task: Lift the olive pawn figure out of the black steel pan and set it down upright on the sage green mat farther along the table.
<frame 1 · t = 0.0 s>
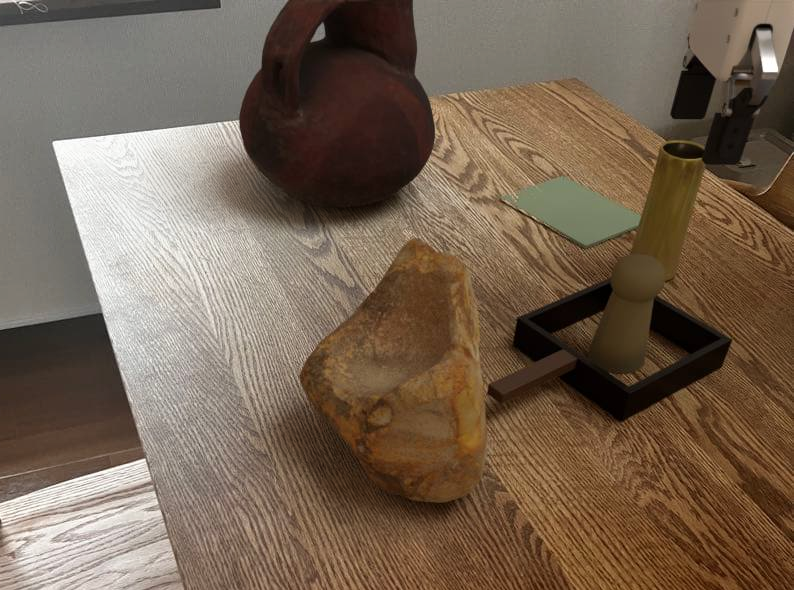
hand: (702, 139, 73), 21 cm above the table, tool pointing down, fingers open, 9 cm apart
olive pawn figure: (615, 358, 87), resting in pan
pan: (616, 356, 87), on the table
rough brown rock: (390, 433, 78), on the table
mat: (573, 211, 109), on the table
jug: (339, 189, 112), on the table
vase: (649, 271, 100), on the table
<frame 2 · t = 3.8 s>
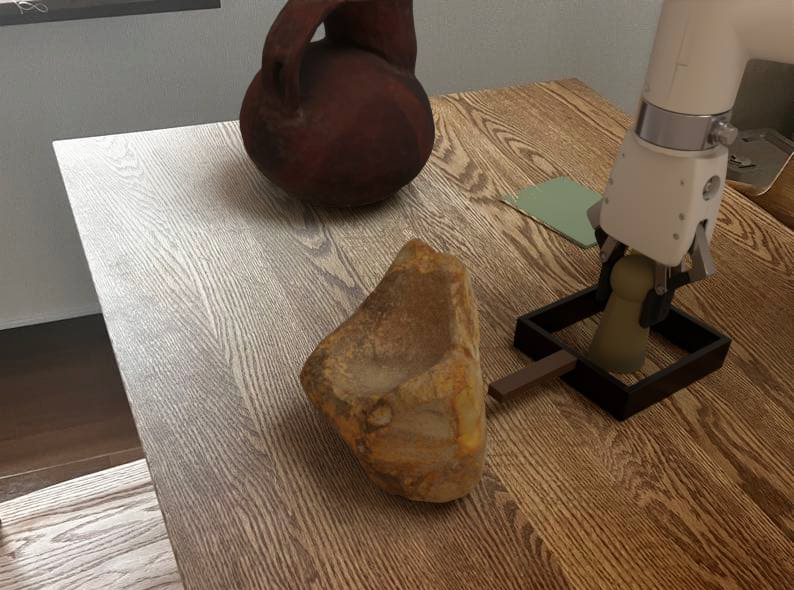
hand: (629, 308, 83), 6 cm above the table, tool pointing down, fingers closed on olive pawn figure, 5 cm apart
olive pawn figure: (615, 358, 87), resting in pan, touching gripper
everything else where it was.
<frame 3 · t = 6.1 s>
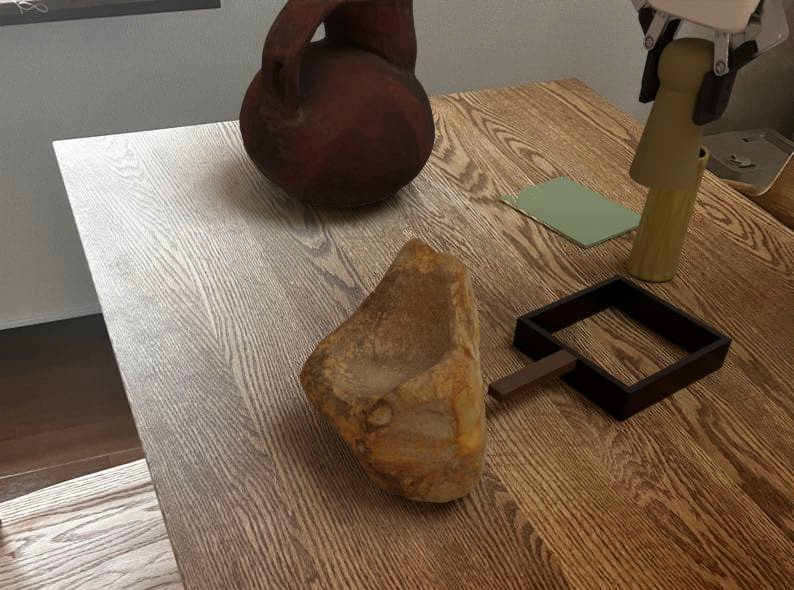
hand: (679, 108, 71), 24 cm above the table, tool pointing down, fingers closed on olive pawn figure, 5 cm apart
olive pawn figure: (661, 178, 75), point 18 cm above the table, touching gripper
everything else where it was.
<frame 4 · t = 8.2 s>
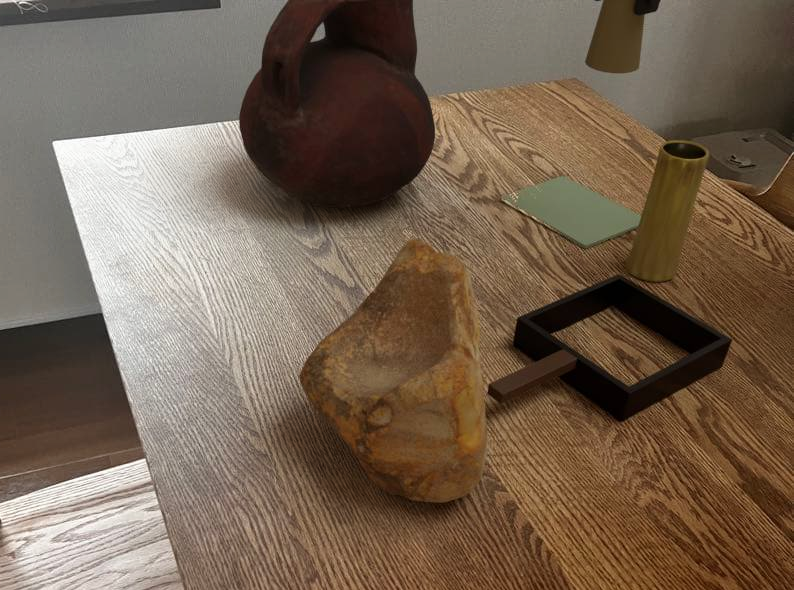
hand: (624, 3, 88), 25 cm above the table, tool pointing down, fingers closed on olive pawn figure, 5 cm apart
olive pawn figure: (611, 65, 92), point 19 cm above the table, touching gripper
everything else where it was.
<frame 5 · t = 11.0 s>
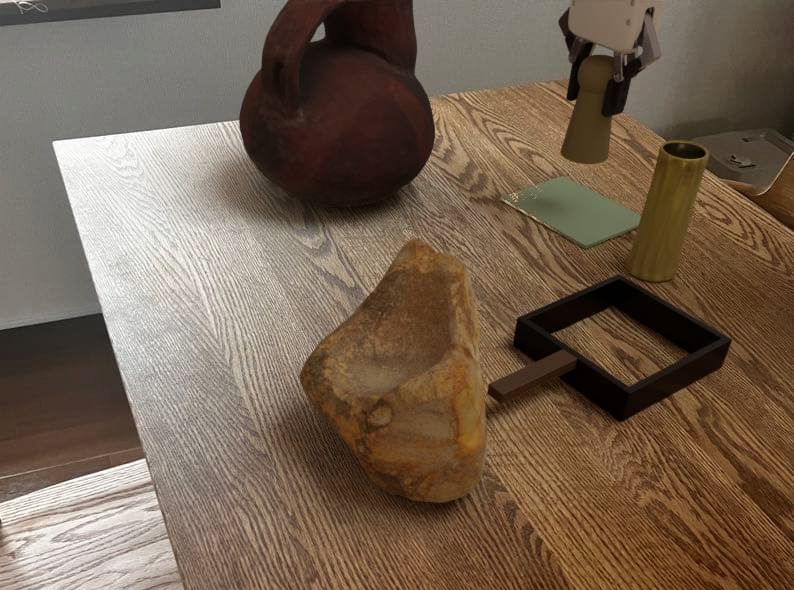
hand: (594, 104, 99), 13 cm above the table, tool pointing down, fingers closed on olive pawn figure, 5 cm apart
olive pawn figure: (584, 155, 104), point 7 cm above the table, touching gripper
everything else where it was.
when the fingers open (6 cm above the table, at t = 13.1 s): olive pawn figure stays where it is, resting on mat.
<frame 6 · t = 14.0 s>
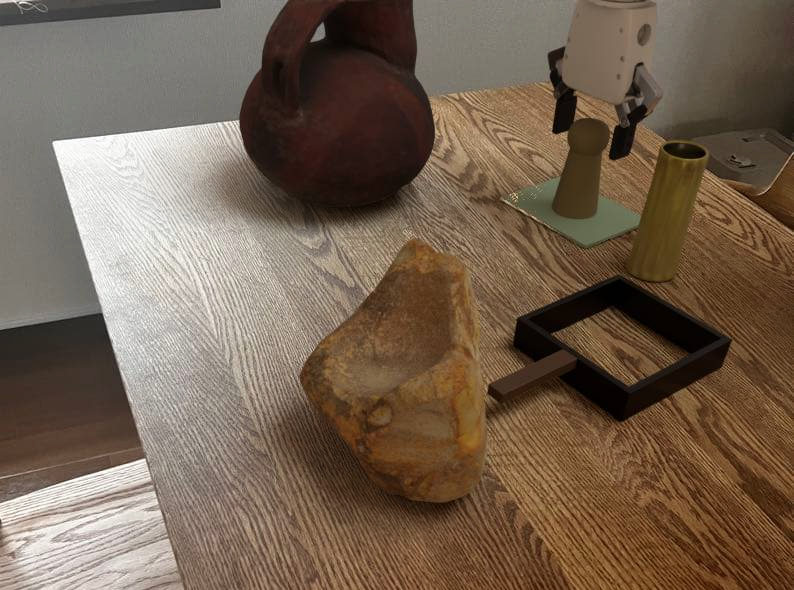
hand: (589, 144, 103), 9 cm above the table, tool pointing down, fingers open, 9 cm apart
olive pawn figure: (574, 209, 109), resting on mat
everything else where it was.
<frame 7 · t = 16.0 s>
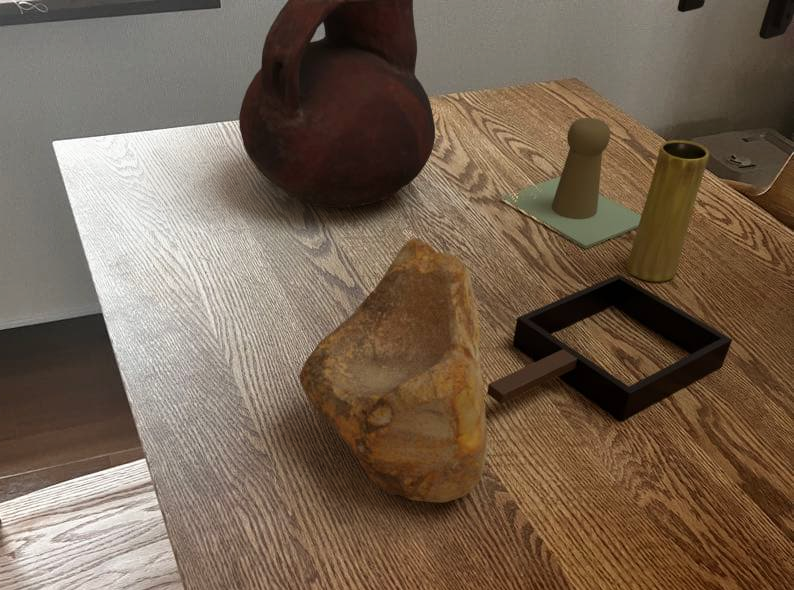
hand: (729, 22, 78), 27 cm above the table, tool pointing down, fingers open, 9 cm apart
nothing on the table moved.
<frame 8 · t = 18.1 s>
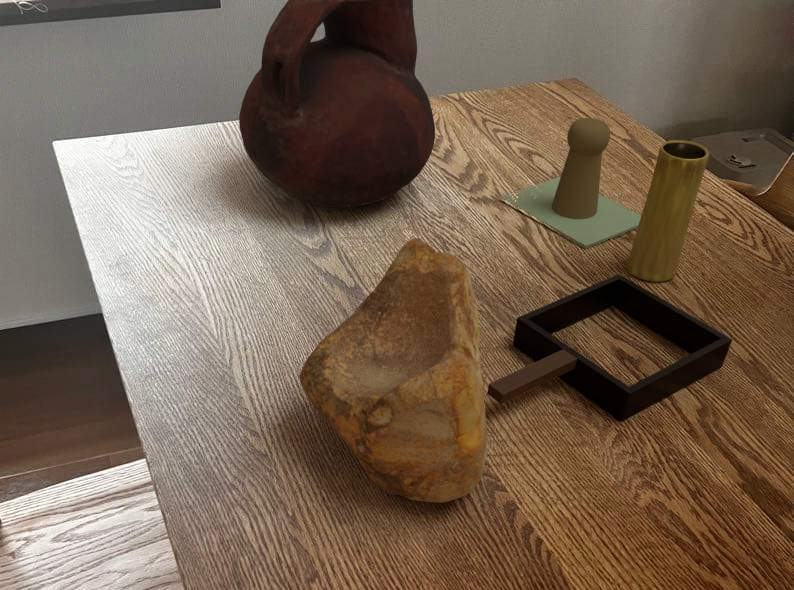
nothing on the table moved.
at the end: olive pawn figure inside the target area on the mat (0.1 cm from its centre), point 0.3 cm above the mat's base; olive pawn figure tilted 0°; the gripper is holding nothing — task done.
